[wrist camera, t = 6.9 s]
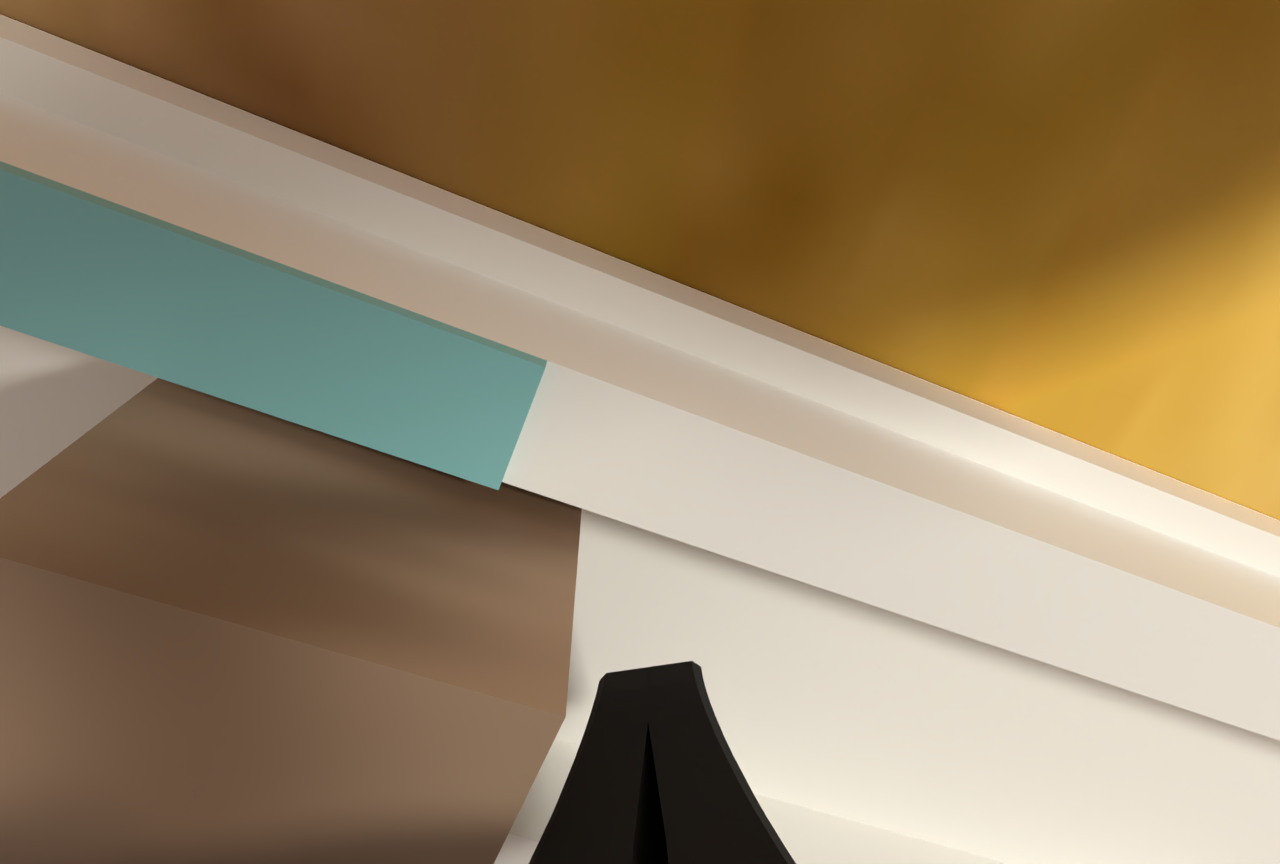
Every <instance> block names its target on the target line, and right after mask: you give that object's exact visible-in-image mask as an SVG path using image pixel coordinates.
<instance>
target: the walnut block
mask: <svg viewBox="0 0 1280 864" xmlns="http://www.w3.org/2000/svg"><path fill="white" fill-rule="evenodd" d="M581 512H582V508H579V507H576V506H573V505H570V504H567V503H564V502H561V501H558V500H555V499H552V498H549V497H546V496H543V495H540V494H537V493H534V492H531V491H528V490H525V489H522V488H519V487H516V486H513V485H510V484H507V483H504V482H502V483H501V485H500V488H499V490H496V489H493V488H490V487H487V486H484V485H481V484H478V483H475V482H472V481H469V480H466V479H463V478H460V477H457V476H454V475H451V474H448V473H445V472H442V471H439V470H436V469H433V468H430V467H427V466H423V465H420V464H417V463H414V462H411V461H408V460H405V459H402V458H399V457H396V456H393V455H390V454H387V453H384V452H381V451H378V450H375V449H372V448H369V447H366V446H363V445H360V444H357V443H354V442H351V441H348V440H345V439H342V438H339V437H336V436H333V435H330V434H327V433H324V432H321V431H318V430H315V429H312V428H309V427H306V426H302V425H299V424H296V423H293V422H290V421H287V420H284V419H281V418H278V417H275V416H272V415H269V414H266V413H263V412H260V411H257V410H254V409H251V408H248V407H245V406H242V405H239V404H236V403H233V402H230V401H227V400H224V399H221V398H218V397H215V396H212V395H209V394H206V393H203V392H200V391H197V390H194V389H191V388H188V387H185V386H181V385H178V384H175V383H172V382H169V381H166V380H163V379H160V378H157V379H156V380H154V381H153V382H152V383H151V384H149V385H148V386H147V387H145V388H144V389H143V390H141V391H140V392H139V393H137V394H136V395H135V396H134V397H132V398H131V399H130V400H128V401H127V402H126V403H124V404H123V405H122V406H120V407H119V408H118V409H117V410H115V411H114V412H113V413H111V414H110V415H109V416H107V417H106V418H105V419H103V420H102V421H101V422H99V423H98V424H97V425H96V426H94V427H93V428H92V429H90V430H89V431H88V432H86V433H85V434H84V435H82V436H81V437H80V438H79V439H77V440H76V441H75V442H73V443H72V444H71V445H69V446H68V447H67V448H65V449H64V450H63V451H62V452H60V453H59V454H58V455H56V456H55V457H54V458H52V459H51V460H50V461H48V462H47V463H46V464H44V465H43V466H42V467H41V468H39V469H38V470H37V471H35V472H34V473H33V474H31V475H30V476H29V477H27V478H26V479H25V480H24V481H22V482H21V483H20V484H18V485H17V486H16V487H14V488H13V489H12V490H10V491H9V492H8V493H7V494H5V495H4V496H3V497H1V498H0V864H494V862H495V860H496V858H497V856H498V854H499V852H500V850H501V848H502V846H503V844H504V842H505V840H506V838H507V836H508V834H509V832H510V829H511V827H512V825H513V823H514V821H515V819H516V817H517V815H518V813H519V811H520V809H521V807H522V805H523V803H524V801H525V799H526V797H527V795H528V793H529V791H530V789H531V787H532V785H533V782H534V780H535V778H536V776H537V774H538V772H539V770H540V768H541V766H542V764H543V762H544V760H545V758H546V756H547V754H548V752H549V750H550V748H551V746H552V744H553V742H554V740H555V738H556V735H557V733H558V731H559V729H560V727H561V725H562V723H563V721H564V719H565V717H566V706H567V693H568V680H569V667H570V654H571V641H572V628H573V615H574V602H575V589H576V576H577V564H578V551H579V538H580V525H581Z"/></svg>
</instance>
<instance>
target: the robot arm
mask: <svg viewBox="0 0 1280 864" xmlns="http://www.w3.org/2000/svg"><path fill="white" fill-rule="evenodd" d="M529 864H796V863H795V861H794V860H793V858H792V857H791V855H790V853H789V852H788V850H787V849H786V847H785V846H784V844H783V842H782V841H781V839H780V838H779V836H778V834H777V833H776V831H775V829H774V828H773V826H772V824H771V823H770V821H769V820H768V818H767V816H766V815H765V813H764V811H763V809H762V808H761V806H760V804H759V802H758V801H757V799H756V797H755V795H754V794H753V792H752V790H751V788H750V786H749V784H748V782H747V780H746V779H745V777H744V775H743V773H742V771H741V769H740V767H739V765H738V763H737V761H736V760H735V758H734V756H733V754H732V752H731V750H730V748H729V745H728V743H727V741H726V739H725V737H724V735H723V732H722V730H721V728H720V725H719V723H718V721H717V718H716V716H715V714H714V711H713V708H712V706H711V703H710V700H709V697H708V694H707V691H706V687H705V684H704V680H703V675H702V669H701V666H699V665H698V664H696V663H695V662H693V661H687V662H680V663H673V664H666V665H659V666H652V667H645V668H638V669H631V670H624V671H617V672H610V673H606V674H605V675H604V676H603V677H602V678H601V679H600V681H599V684H598V689H597V693H596V697H595V700H594V703H593V707H592V710H591V714H590V717H589V720H588V723H587V726H586V729H585V732H584V735H583V737H582V740H581V743H580V746H579V749H578V751H577V754H576V757H575V759H574V762H573V764H572V767H571V769H570V772H569V774H568V777H567V779H566V782H565V784H564V787H563V789H562V791H561V794H560V796H559V799H558V801H557V804H556V806H555V808H554V811H553V813H552V815H551V817H550V820H549V822H548V824H547V826H546V828H545V830H544V832H543V834H542V837H541V839H540V841H539V843H538V845H537V847H536V849H535V851H534V853H533V855H532V858H531V860H530V862H529Z"/></svg>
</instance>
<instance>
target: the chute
mask: <svg viewBox="0 0 1280 864" xmlns="http://www.w3.org/2000/svg"><path fill="white" fill-rule="evenodd" d="M157 378H160V379H163V380H166V381H169V382H172V383H175V384H178V385H181V386H185V387H188V388H191V389H194V390H197V391H200V392H203V393H206V394H209V395H212V396H215V397H218V398H221V399H224V400H227V401H230V402H233V403H236V404H239V405H242V406H245V407H248V408H251V409H254V410H257V411H260V412H263V413H266V414H269V415H272V416H275V417H278V418H281V419H284V420H287V421H290V422H293V423H296V424H299V425H302V426H306V427H309V428H312V429H315V430H318V431H321V432H324V433H327V434H330V435H333V436H336V437H339V438H342V439H345V440H348V441H351V442H354V443H357V444H360V445H363V446H366V447H369V448H372V449H375V450H378V451H381V452H384V453H387V454H390V455H393V456H396V457H399V458H402V459H405V460H408V461H411V462H414V463H417V464H420V465H423V466H427V467H430V468H433V469H436V470H439V471H442V472H445V473H448V474H451V475H454V476H457V477H460V478H463V479H466V480H469V481H472V482H475V483H478V484H481V485H484V486H487V487H490V488H493V489H496V490H499V488H500V485H501V483H502V482H504V483H507V484H510V485H513V486H516V487H519V488H522V489H525V490H528V491H531V492H534V493H537V494H540V495H543V496H546V497H549V498H552V499H555V500H558V501H561V502H564V503H567V504H570V505H573V506H576V507H579V508H582V512H581V525H580V538H579V551H578V564H577V576H576V589H575V602H574V615H573V628H572V641H571V654H570V667H569V680H568V693H567V706H566V717H565V719H564V721H563V723H562V725H561V727H560V729H559V731H558V733H557V735H556V738H555V740H554V742H553V744H552V746H551V748H550V750H549V752H548V754H547V756H546V758H545V760H544V762H543V764H542V766H541V768H540V770H539V772H538V774H537V776H536V778H535V780H534V782H533V785H532V787H531V789H530V791H529V793H528V795H527V797H526V799H525V801H524V803H523V805H522V807H521V809H520V811H519V813H518V815H517V817H516V819H515V821H514V823H513V825H512V827H511V829H510V832H509V834H508V836H507V838H506V840H505V842H504V844H503V846H502V848H501V850H500V852H499V854H498V856H497V858H496V860H495V862H494V864H529V862H530V860H531V858H532V855H533V853H534V851H535V849H536V847H537V845H538V843H539V841H540V839H541V837H542V834H543V832H544V830H545V828H546V826H547V824H548V822H549V820H550V817H551V815H552V813H553V811H554V808H555V806H556V804H557V801H558V799H559V796H560V794H561V791H562V789H563V787H564V784H565V782H566V779H567V777H568V774H569V772H570V769H571V767H572V764H573V762H574V759H575V757H576V754H577V751H578V749H579V746H580V743H581V740H582V737H583V735H584V732H585V729H586V726H587V723H588V720H589V717H590V714H591V710H592V707H593V703H594V700H595V697H596V693H597V689H598V684H599V681H600V679H601V678H602V677H603V676H604V675H605V674H606V673H610V672H617V671H624V670H631V669H638V668H645V667H652V666H659V665H666V664H673V663H680V662H687V661H693V662H695V663H696V664H698V665H699V666H701V669H702V675H703V680H704V684H705V687H706V691H707V694H708V697H709V700H710V703H711V706H712V708H713V711H714V714H715V716H716V718H717V721H718V723H719V725H720V728H721V730H722V732H723V735H724V737H725V739H726V741H727V743H728V745H729V748H730V750H731V752H732V754H733V756H734V758H735V760H736V761H737V763H738V765H739V767H740V769H741V771H742V773H743V775H744V777H745V779H746V780H747V782H748V784H749V786H750V788H751V790H752V792H753V794H754V795H755V797H756V799H757V801H758V802H759V804H760V806H761V808H762V809H763V811H764V813H765V815H766V816H767V818H768V820H769V821H770V823H771V824H772V826H773V828H774V829H775V831H776V833H777V834H778V836H779V838H780V839H781V841H782V842H783V844H784V846H785V847H786V849H787V850H788V852H789V853H790V855H791V857H792V858H793V860H794V861H795V863H796V864H1280V520H1277V519H1275V518H1272V517H1270V516H1267V515H1265V514H1262V513H1260V512H1257V511H1255V510H1252V509H1250V508H1247V507H1245V506H1242V505H1239V504H1237V503H1234V502H1232V501H1229V500H1227V499H1224V498H1222V497H1219V496H1217V495H1214V494H1212V493H1209V492H1207V491H1204V490H1202V489H1199V488H1197V487H1194V486H1191V485H1189V484H1186V483H1184V482H1181V481H1179V480H1176V479H1174V478H1171V477H1169V476H1166V475H1164V474H1161V473H1159V472H1156V471H1154V470H1151V469H1148V468H1146V467H1143V466H1141V465H1138V464H1136V463H1133V462H1131V461H1128V460H1126V459H1123V458H1121V457H1118V456H1116V455H1113V454H1111V453H1108V452H1106V451H1103V450H1100V449H1098V448H1095V447H1093V446H1090V445H1088V444H1085V443H1083V442H1080V441H1078V440H1075V439H1073V438H1070V437H1068V436H1065V435H1063V434H1060V433H1058V432H1055V431H1052V430H1050V429H1047V428H1045V427H1042V426H1040V425H1037V424H1035V423H1032V422H1030V421H1027V420H1025V419H1022V418H1020V417H1017V416H1015V415H1012V414H1009V413H1007V412H1004V411H1002V410H999V409H997V408H994V407H992V406H989V405H987V404H984V403H982V402H979V401H977V400H974V399H972V398H969V397H967V396H964V395H961V394H959V393H956V392H954V391H951V390H949V389H946V388H944V387H941V386H939V385H936V384H934V383H931V382H929V381H926V380H924V379H921V378H919V377H916V376H913V375H911V374H908V373H906V372H903V371H901V370H898V369H896V368H893V367H891V366H888V365H886V364H883V363H881V362H878V361H876V360H873V359H871V358H868V357H865V356H863V355H860V354H858V353H855V352H853V351H850V350H848V349H845V348H843V347H840V346H838V345H835V344H833V343H830V342H828V341H825V340H822V339H820V338H817V337H815V336H812V335H810V334H807V333H805V332H802V331H800V330H797V329H795V328H792V327H790V326H787V325H785V324H782V323H780V322H777V321H774V320H772V319H769V318H767V317H764V316H762V315H759V314H757V313H754V312H752V311H749V310H747V309H744V308H742V307H739V306H737V305H734V304H732V303H729V302H726V301H724V300H721V299H719V298H716V297H714V296H711V295H709V294H706V293H704V292H701V291H699V290H696V289H694V288H691V287H689V286H686V285H684V284H681V283H678V282H676V281H673V280H671V279H668V278H666V277H663V276H661V275H658V274H656V273H653V272H651V271H648V270H646V269H643V268H641V267H638V266H635V265H633V264H630V263H628V262H625V261H623V260H620V259H618V258H615V257H613V256H610V255H608V254H605V253H603V252H600V251H598V250H595V249H593V248H590V247H587V246H585V245H582V244H580V243H577V242H575V241H572V240H570V239H567V238H565V237H562V236H560V235H557V234H555V233H552V232H550V231H547V230H545V229H542V228H539V227H537V226H534V225H532V224H529V223H527V222H524V221H522V220H519V219H517V218H514V217H512V216H509V215H507V214H504V213H502V212H499V211H496V210H494V209H491V208H489V207H486V206H484V205H481V204H479V203H476V202H474V201H471V200H469V199H466V198H464V197H461V196H459V195H456V194H454V193H451V192H448V191H446V190H443V189H441V188H438V187H436V186H433V185H431V184H428V183H426V182H423V181H421V180H418V179H416V178H413V177H411V176H408V175H406V174H403V173H400V172H398V171H395V170H393V169H390V168H388V167H385V166H383V165H380V164H378V163H375V162H373V161H370V160H368V159H365V158H363V157H360V156H358V155H355V154H352V153H350V152H347V151H345V150H342V149H340V148H337V147H335V146H332V145H330V144H327V143H325V142H322V141H320V140H317V139H315V138H312V137H309V136H307V135H304V134H302V133H299V132H297V131H294V130H292V129H289V128H287V127H284V126H282V125H279V124H277V123H274V122H272V121H269V120H267V119H264V118H261V117H259V116H256V115H254V114H251V113H249V112H246V111H244V110H241V109H239V108H236V107H234V106H231V105H229V104H226V103H224V102H221V101H219V100H216V99H213V98H211V97H208V96H206V95H203V94H201V93H198V92H196V91H193V90H191V89H188V88H186V87H183V86H181V85H178V84H176V83H173V82H171V81H168V80H165V79H163V78H160V77H158V76H155V75H153V74H150V73H148V72H145V71H143V70H140V69H138V68H135V67H133V66H130V65H128V64H125V63H122V62H120V61H117V60H115V59H112V58H110V57H107V56H105V55H102V54H100V53H97V52H95V51H92V50H90V49H87V48H85V47H82V46H80V45H77V44H74V43H72V42H69V41H67V40H64V39H62V38H59V37H57V36H54V35H52V34H49V33H47V32H44V31H42V30H39V29H37V28H34V27H32V26H29V25H26V24H24V23H21V22H19V21H16V20H14V19H11V18H9V17H6V16H4V15H1V14H0V498H1V497H3V496H4V495H5V494H7V493H8V492H9V491H10V490H12V489H13V488H14V487H16V486H17V485H18V484H20V483H21V482H22V481H24V480H25V479H26V478H27V477H29V476H30V475H31V474H33V473H34V472H35V471H37V470H38V469H39V468H41V467H42V466H43V465H44V464H46V463H47V462H48V461H50V460H51V459H52V458H54V457H55V456H56V455H58V454H59V453H60V452H62V451H63V450H64V449H65V448H67V447H68V446H69V445H71V444H72V443H73V442H75V441H76V440H77V439H79V438H80V437H81V436H82V435H84V434H85V433H86V432H88V431H89V430H90V429H92V428H93V427H94V426H96V425H97V424H98V423H99V422H101V421H102V420H103V419H105V418H106V417H107V416H109V415H110V414H111V413H113V412H114V411H115V410H117V409H118V408H119V407H120V406H122V405H123V404H124V403H126V402H127V401H128V400H130V399H131V398H132V397H134V396H135V395H136V394H137V393H139V392H140V391H141V390H143V389H144V388H145V387H147V386H148V385H149V384H151V383H152V382H153V381H154V380H156V379H157Z"/></svg>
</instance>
